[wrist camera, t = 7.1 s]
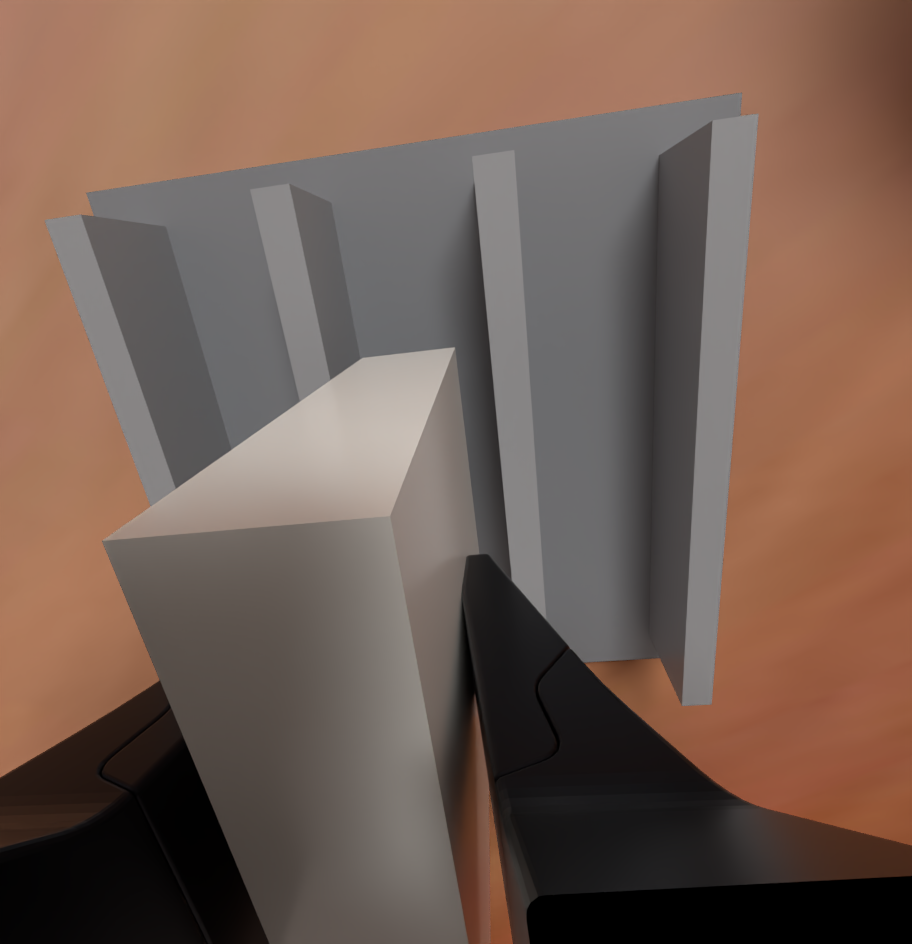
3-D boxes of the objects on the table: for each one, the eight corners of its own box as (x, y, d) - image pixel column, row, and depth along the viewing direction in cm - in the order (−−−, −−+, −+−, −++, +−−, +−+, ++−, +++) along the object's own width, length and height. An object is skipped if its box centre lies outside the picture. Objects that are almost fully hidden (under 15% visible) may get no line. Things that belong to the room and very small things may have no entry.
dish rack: (694, 639, 18) (745, 729, 15) (260, 666, 19) (211, 754, 16) (726, 103, 12) (824, 35, 9) (107, 197, 14) (-23, 171, 10)
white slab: (487, 621, 13) (492, 1069, 6) (411, 626, 13) (320, 1067, 6) (455, 347, 11) (390, 516, 3) (362, 357, 11) (101, 541, 3)
